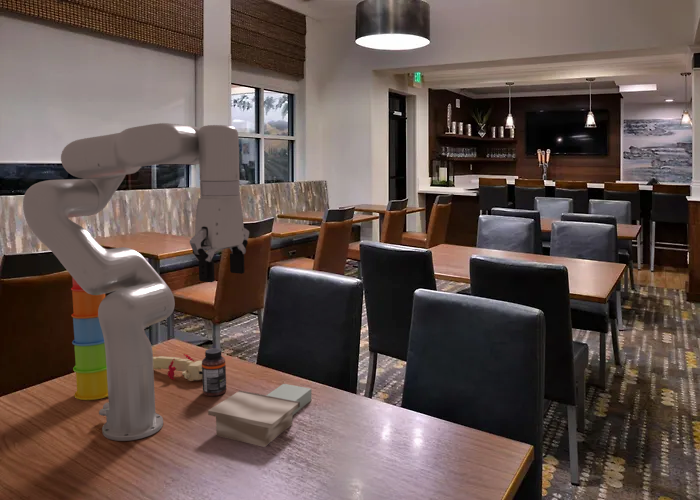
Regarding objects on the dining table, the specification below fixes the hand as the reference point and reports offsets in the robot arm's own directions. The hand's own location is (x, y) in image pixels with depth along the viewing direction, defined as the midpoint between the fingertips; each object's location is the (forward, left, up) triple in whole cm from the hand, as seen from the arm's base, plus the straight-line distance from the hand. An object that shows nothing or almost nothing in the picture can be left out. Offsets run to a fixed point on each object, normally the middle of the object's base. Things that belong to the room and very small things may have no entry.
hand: (222, 277), depth 111 cm
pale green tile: (+1, +23, -36) cm, 43 cm away
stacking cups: (-47, +10, -36) cm, 60 cm away
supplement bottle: (-20, +23, -36) cm, 47 cm away
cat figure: (-38, +29, -37) cm, 60 cm away
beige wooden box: (+1, +9, -36) cm, 37 cm away
